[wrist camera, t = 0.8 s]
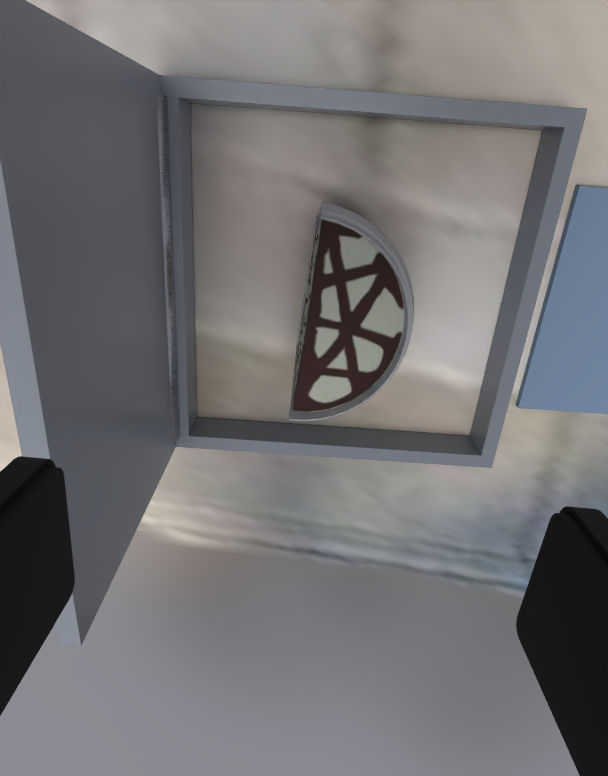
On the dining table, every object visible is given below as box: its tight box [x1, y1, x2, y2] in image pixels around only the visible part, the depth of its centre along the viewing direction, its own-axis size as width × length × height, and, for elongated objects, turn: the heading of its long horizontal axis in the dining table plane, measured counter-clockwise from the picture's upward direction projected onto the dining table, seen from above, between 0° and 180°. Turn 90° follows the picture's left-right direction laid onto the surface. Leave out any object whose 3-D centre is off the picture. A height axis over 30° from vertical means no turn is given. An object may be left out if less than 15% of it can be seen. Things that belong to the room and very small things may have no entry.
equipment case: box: [0, 0, 587, 646], centre depth 27 cm, size 24×25×20 cm
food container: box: [289, 202, 414, 421], centre depth 31 cm, size 12×6×10 cm, turn 172°
